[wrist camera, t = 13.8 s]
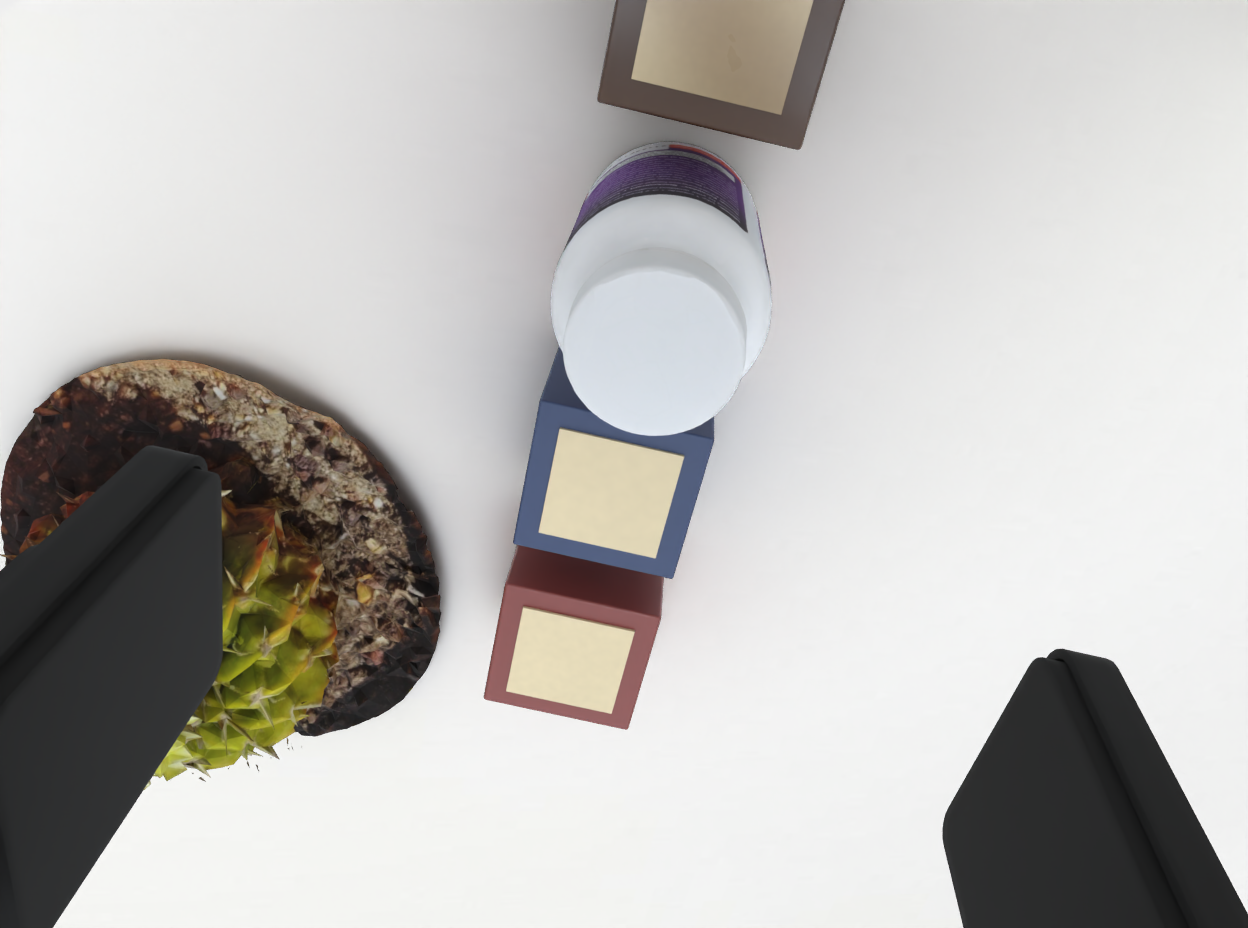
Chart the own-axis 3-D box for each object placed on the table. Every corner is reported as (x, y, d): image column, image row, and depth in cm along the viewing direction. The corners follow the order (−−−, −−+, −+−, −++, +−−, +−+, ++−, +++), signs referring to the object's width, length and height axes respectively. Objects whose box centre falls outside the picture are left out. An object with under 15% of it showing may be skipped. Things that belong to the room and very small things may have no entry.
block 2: (530, 500, 34) (504, 585, 30) (667, 530, 34) (661, 619, 30) (509, 608, 37) (482, 702, 32) (637, 636, 37) (627, 733, 32)
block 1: (563, 333, 31) (539, 401, 26) (713, 368, 31) (714, 441, 27) (537, 464, 33) (511, 546, 29) (677, 495, 34) (672, 581, 29)
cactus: (511, 689, 39) (456, 904, 30) (174, 754, 42) (39, 964, 33) (322, 294, 31) (175, 433, 22) (-72, 414, 34) (-329, 573, 26)
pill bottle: (545, 203, 29) (479, 316, 20) (699, 101, 27) (695, 178, 19) (643, 345, 31) (619, 503, 22) (791, 258, 29) (825, 393, 21)
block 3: (654, -129, 25) (642, -143, 20) (842, -83, 25) (872, -86, 20) (614, 74, 27) (596, 102, 23) (785, 115, 27) (801, 152, 23)
